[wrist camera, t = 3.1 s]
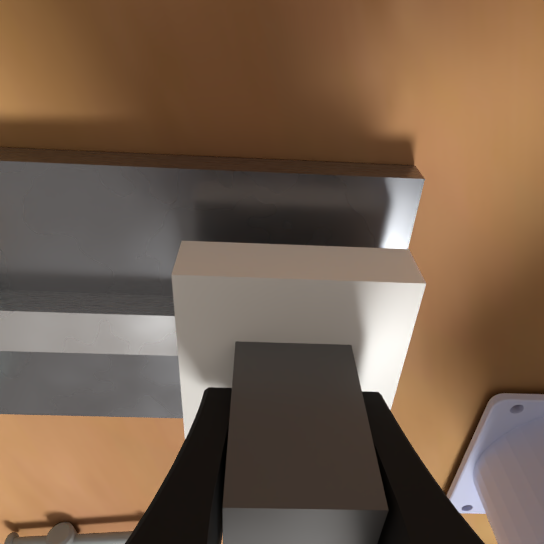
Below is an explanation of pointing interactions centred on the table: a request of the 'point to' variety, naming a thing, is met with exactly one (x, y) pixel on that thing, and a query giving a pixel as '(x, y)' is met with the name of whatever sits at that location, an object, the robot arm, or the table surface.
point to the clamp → (70, 537)
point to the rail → (151, 259)
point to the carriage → (296, 378)
